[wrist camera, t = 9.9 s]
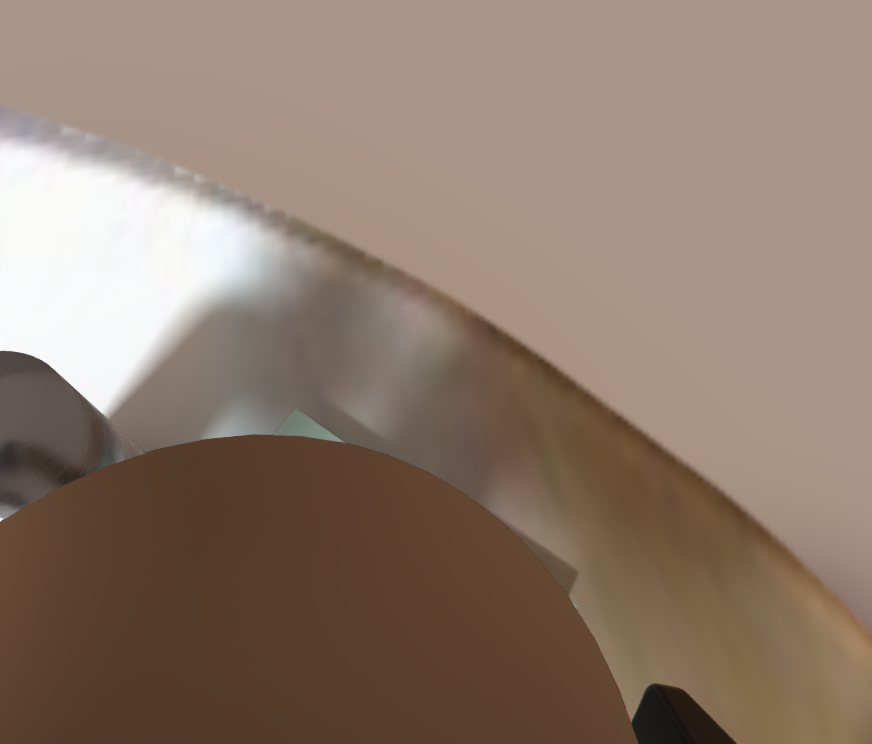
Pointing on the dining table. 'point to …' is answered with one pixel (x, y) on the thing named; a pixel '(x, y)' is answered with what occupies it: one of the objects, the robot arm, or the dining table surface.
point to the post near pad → (48, 433)
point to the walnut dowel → (286, 609)
